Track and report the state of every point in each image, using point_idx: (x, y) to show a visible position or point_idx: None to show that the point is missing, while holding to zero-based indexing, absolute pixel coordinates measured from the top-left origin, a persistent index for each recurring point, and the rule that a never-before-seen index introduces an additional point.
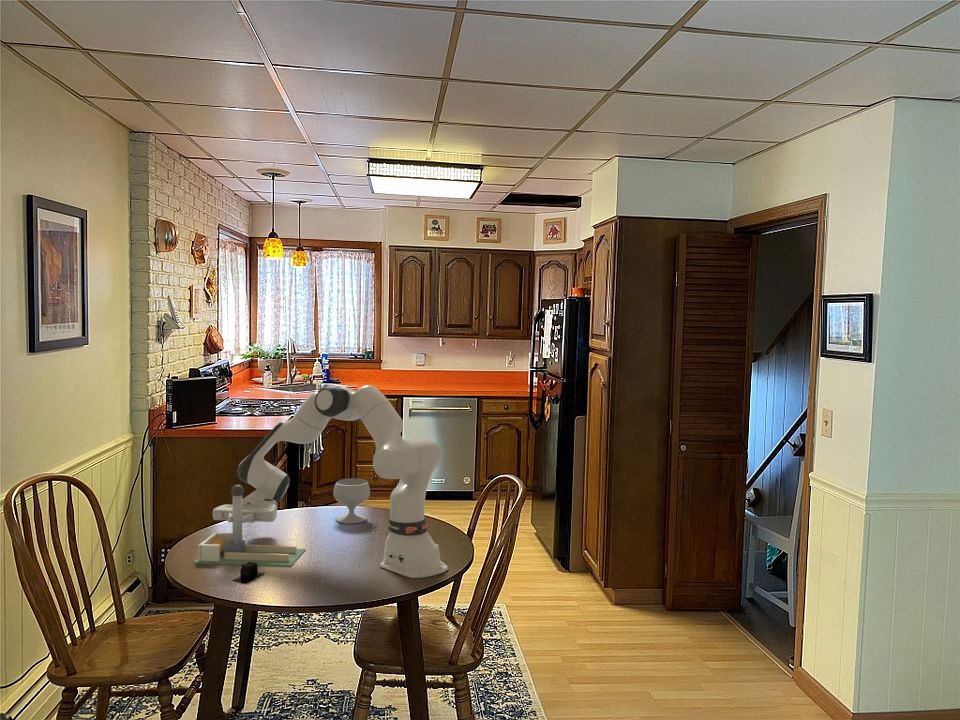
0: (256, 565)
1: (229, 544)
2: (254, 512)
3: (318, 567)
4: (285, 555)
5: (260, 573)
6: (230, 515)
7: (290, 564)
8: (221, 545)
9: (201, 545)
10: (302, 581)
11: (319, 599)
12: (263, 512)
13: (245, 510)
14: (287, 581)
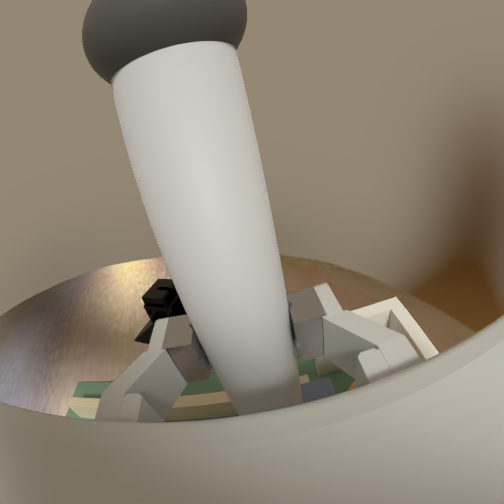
0: (144, 301)
1: (303, 390)
2: (81, 419)
3: (35, 384)
4: (77, 398)
5: (148, 335)
6: (333, 310)
7: (79, 387)
8: (350, 387)
9: (383, 301)
10: (74, 323)
11: (71, 284)
12: (18, 409)
13: (186, 430)
14: (97, 317)
